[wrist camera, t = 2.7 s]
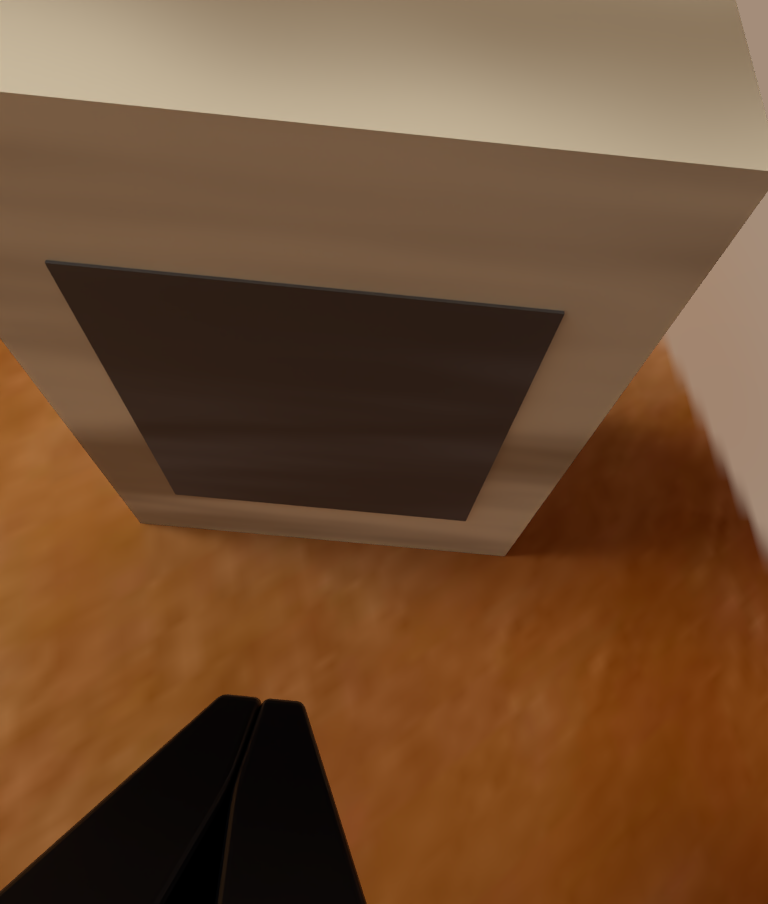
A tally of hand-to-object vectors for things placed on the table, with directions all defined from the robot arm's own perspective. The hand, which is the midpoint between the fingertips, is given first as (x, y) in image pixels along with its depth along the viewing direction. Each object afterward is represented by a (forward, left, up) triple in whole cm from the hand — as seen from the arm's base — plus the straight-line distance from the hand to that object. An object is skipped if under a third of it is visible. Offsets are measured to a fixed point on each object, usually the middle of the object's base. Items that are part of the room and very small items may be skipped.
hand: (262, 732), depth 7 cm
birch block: (+8, 0, -10) cm, 13 cm away
